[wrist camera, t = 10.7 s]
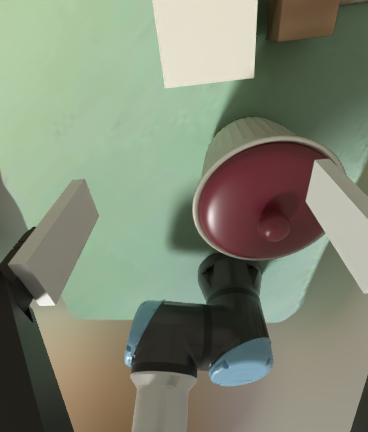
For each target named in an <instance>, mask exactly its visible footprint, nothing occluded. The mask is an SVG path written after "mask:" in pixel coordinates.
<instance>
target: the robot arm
mask: <svg viewBox="0 0 368 432" xmlns="http://www.w3.org/2000/svg"><path fill="white" fill-rule="evenodd" d="M306 203H307V204H308V206H309V208H310V209H311V211H312V212H313V214H314V216H315V217H316V219H317V220H318V222H319V223H320V225H321V227H322V228H323V230H324V231H325V233H326V235H327V236H328V238H329V239H330V241H331V242H332V244H333V246H334V247H335V249H336V250H337V252H338V253H339V255H340V257H341V258H342V260H343V261H344V263H345V265H346V266H347V268H348V269H349V271H350V272H351V274H352V276H353V277H354V279H355V280H356V282H357V283H358V285H359V287H360V288H361V290H362V292H363V293H368V197H367V196H366V195H365V194H364V193H363V192H362V191H361V190H360V189H359V188H358V187H357V186H356V185H355V184H354V183H353V182H352V181H351V180H350V179H349V178H348V177H347V176H346V175H345V174H344V173H343V172H342V171H341V170H340V169H339V168H338V167H337V166H336V165H335V164H334V163H333V162H332V161H331V160H330V159H318V160H315V161H314V166H313V170H312V175H311V179H310V184H309V188H308V193H307V197H306ZM98 217H99V214H98V212H97V209H96V207H95V204H94V201H93V199H92V196H91V194H90V191H89V189H88V186H87V183H86V181H85V179H79V180H72V181H71V183H70V184H69V185H68V186H67V188H66V189H65V190H64V192H63V193H62V194H61V196H60V197H59V198H58V200H57V201H56V202H55V203H54V205H53V206H52V207H51V209H50V210H49V211H48V213H47V214H46V215H45V216H44V218H43V219H42V220H41V222H40V223H39V224H38V226H37V227H33V228H31V229H30V230H29V231H27V232H26V233H25V234H24V235H23V236H22V237H21V238H20V240H19V241H18V243H17V244H16V245H15V246H14V247H13V249H12V250H11V251H10V252H9V253H8V255H7V256H6V257H5V258H4V260H3V261H2V262H1V263H0V432H74V430H73V427H72V424H71V421H70V418H69V415H68V412H67V409H66V406H65V403H64V400H63V398H62V395H61V392H60V389H59V386H58V383H57V380H56V377H55V374H54V371H53V368H52V365H51V362H50V359H49V356H48V353H47V351H46V348H45V345H44V342H43V339H42V336H41V333H40V330H39V327H38V324H37V321H36V318H35V315H34V312H33V310H32V309H31V307H30V306H29V305H30V303H31V301H32V299H33V298H34V299H35V301H36V302H37V303H38V304H39V306H49V305H56V303H57V301H58V299H59V297H60V295H61V293H62V291H63V289H64V287H65V285H66V283H67V281H68V279H69V277H70V275H71V273H72V271H73V269H74V266H75V264H76V262H77V260H78V258H79V256H80V254H81V252H82V250H83V248H84V246H85V244H86V242H87V240H88V238H89V236H90V234H91V231H92V229H93V227H94V225H95V223H96V221H97V219H98ZM261 279H262V276H261V271H260V267H259V264H258V263H257V261H256V260H244V259H238V258H234V257H231V256H228V255H225V254H223V253H218V254H215V255H213V256H211V257H209V258H207V259H206V260H205V261H204V262H203V263H202V264H201V265H200V267H199V269H198V283H199V286H200V288H201V291H202V293H203V295H204V298H205V300H206V304H207V305H205V304H194V303H182V302H172V301H165V300H162V301H145V302H143V303H142V304H141V305H140V306H139V308H138V310H137V312H136V314H135V316H134V319H133V322H132V325H131V329H130V332H129V336H128V340H127V347H126V351H125V363H126V365H128V366H129V367H131V366H132V369H131V376H130V377H131V379H132V381H133V382H134V384H135V385H136V388H137V396H136V404H135V411H134V418H133V425H132V432H187V403H188V392H189V390H190V389H191V388H192V387H193V385H194V384H195V383H196V382H197V370H202V371H209V376H210V378H211V380H212V382H214V383H215V384H219V385H222V386H237V385H243V384H247V383H250V382H254V381H256V380H258V379H260V378H262V377H264V376H265V375H266V374H268V372H269V371H270V370H271V368H272V366H273V355H272V350H271V340H270V339H269V335H268V331H267V327H266V323H265V319H264V315H263V311H262V307H261V303H260V299H259V294H260V287H261ZM350 432H368V376H367V380H366V383H365V386H364V389H363V393H362V396H361V399H360V402H359V405H358V409H357V412H356V415H355V418H354V422H353V425H352V428H351V431H350Z"/></svg>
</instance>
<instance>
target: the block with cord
mask: <svg viewBox="0 0 368 432" xmlns="http://www.w3.org/2000/svg"><path fill="white" fill-rule="evenodd" d="M366 1H368V0H269V11H268V25H267V38H266V39H268V40H272V41H277V42H282V41H290V40H298V39H306V38H314V37H322V36H330V35H333V33H334V28H335V23H336V18H337V13H338V8H339V5H343V4H351V3H358V2H366Z"/></svg>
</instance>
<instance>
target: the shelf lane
mask: <svg viewBox="0 0 368 432" xmlns="http://www.w3.org/2000/svg"><path fill="white" fill-rule="evenodd" d="M152 1H153V8H154V15H155V22H156V29H157V36H158V43H159V50H160V57H161V64H162V71H163V78H164V85H165V88H173V87H181V86H190V85H198V84H206V83H215V82H223V81H232V80H240V79H248V78H254V67H255V46H256V25H257V4H258V0H152Z"/></svg>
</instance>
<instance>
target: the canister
mask: <svg viewBox="0 0 368 432" xmlns="http://www.w3.org/2000/svg"><path fill="white" fill-rule="evenodd" d="M318 159H330V160H331V161H332V162H333V163H334V164H335V165H336V166H337V167H338V168H339V169H340V170H341V171H342V172H343V173H344V174H345V175H346V172H345V169H344V167H343V165H342V163H341V162H340V160H339V159H338V158H337V156H336V155H335V154H334V153H333V152H332V151H331V150H329V149H328V148H327V147H325V146H324V145H322V144H320V143H319V142H316V141H314V140H312V139H309V138H305V137H301V136H298V135H296V134H295V133H293V132H291V131H290V130H288V129H287V128H285V127H283V126H281V125H279V124H277V123H275V122H274V121H272V120H267V119H265V118H258V117H247V118H241V119H239V120H236V121H233V122H232V123H230V124H228V125H227V126H225V127H224V128H222V129H221V131H220V132H218V133H217V134H216V136H215V137H214V138H213V139H212V142H211V144H210V145H209V147H208V150H207V152H206V156H205V161H204V166H203V171H202V177H201V180H200V181H199V183H198V185H197V188H196V190H195V193H194V197H193V204H192V213H193V219H194V223H195V226H196V228H197V230H198V232H199V234H200V235H201V237H202V238H203V239H204V240H205V241H206V242H207V243H208V244H209V245H210V246H211V247H213V248H214V249H216V250H217V251H219V252H221V253H223V254H225V255H228V256H231V257H234V258H238V259H244V260H270V259H276V258H280V257H284V256H287V255H290V254H293V253H295V252H298V251H300V250H302V249H304V248H306V247H308V246H309V245H311V244H312V243H314V242H315V241H317V240H318V239H319V238H321V237H322V236H323V235H324V234H325V231H324V230H323V228H322V227H321V225H320V223H319V222H318V220H317V219H316V217H315V216H314V214H313V212H312V211H311V209H310V208H309V206H308V204H307V203H306V197H307V193H308V188H309V184H310V179H311V175H312V170H313V166H314V161H315V160H318Z"/></svg>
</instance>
